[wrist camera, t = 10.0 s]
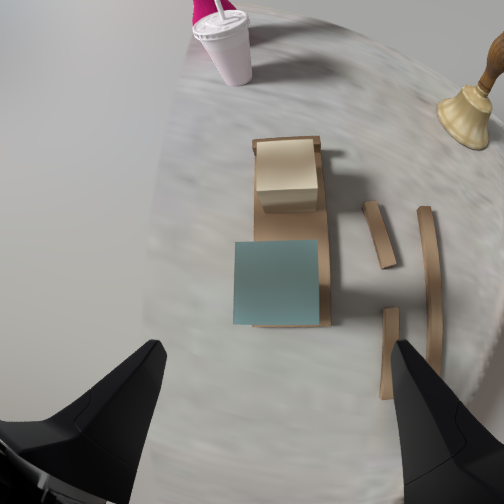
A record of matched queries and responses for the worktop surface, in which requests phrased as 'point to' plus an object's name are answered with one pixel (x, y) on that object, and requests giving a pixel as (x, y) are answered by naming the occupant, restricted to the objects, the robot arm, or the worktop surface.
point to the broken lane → (432, 291)
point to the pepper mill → (208, 8)
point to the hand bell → (473, 103)
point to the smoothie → (227, 43)
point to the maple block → (286, 176)
